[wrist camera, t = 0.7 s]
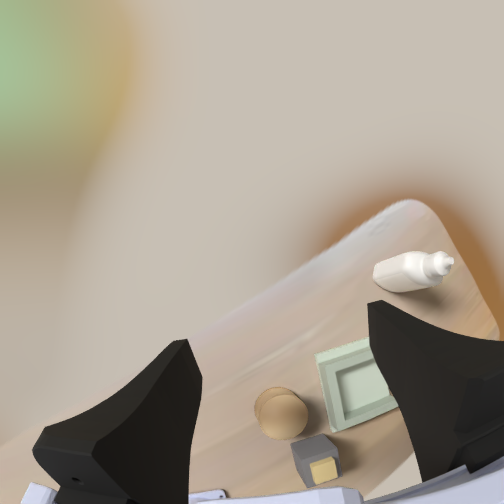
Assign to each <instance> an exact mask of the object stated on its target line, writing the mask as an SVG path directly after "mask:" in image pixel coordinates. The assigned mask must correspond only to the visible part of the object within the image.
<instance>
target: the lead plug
mask: <svg viewBox="0 0 504 504" xmlns="http://www.w3.org/2000/svg"><path fill="white" fill-rule="evenodd" d="M290 445H291V449H292V453H293V457H294V461H295V465H296V469H297V471H298V473H299V475H300V476H301V478H302V480H303V482H304V483H305V485H306V487H307V488H310V487H313V486H316V485H319V484H322V483H325V482H328V481H331V480H334V479H336V478H339V477H342V471H341V465H340V460H339V455H338V449H337V447H336V446H335V445H334V444H333V443H332V442H331V441H330V440H329V439H328V438H327V437H326V436H325V435H324V434H323V433H322V434H319V435H316V436H313V437H310V438H307V439H304V440H301V441H297V442H294V443H291V444H290Z"/></svg>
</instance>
